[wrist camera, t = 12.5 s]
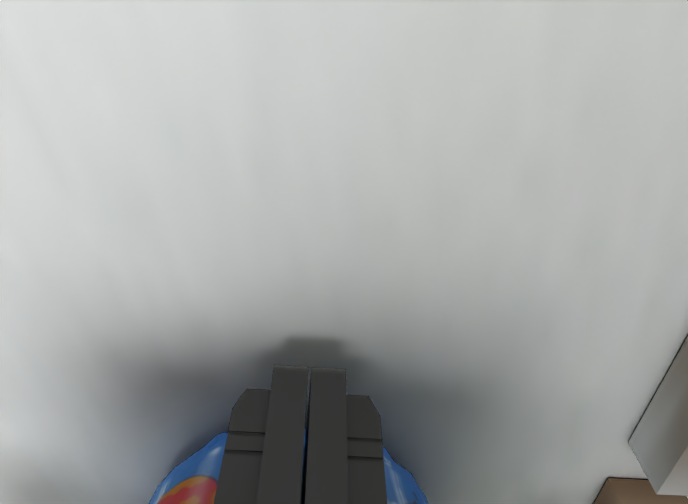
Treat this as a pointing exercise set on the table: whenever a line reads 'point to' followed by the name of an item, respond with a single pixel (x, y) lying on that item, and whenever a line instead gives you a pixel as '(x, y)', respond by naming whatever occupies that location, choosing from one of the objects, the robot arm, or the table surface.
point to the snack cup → (204, 468)
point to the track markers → (659, 445)
